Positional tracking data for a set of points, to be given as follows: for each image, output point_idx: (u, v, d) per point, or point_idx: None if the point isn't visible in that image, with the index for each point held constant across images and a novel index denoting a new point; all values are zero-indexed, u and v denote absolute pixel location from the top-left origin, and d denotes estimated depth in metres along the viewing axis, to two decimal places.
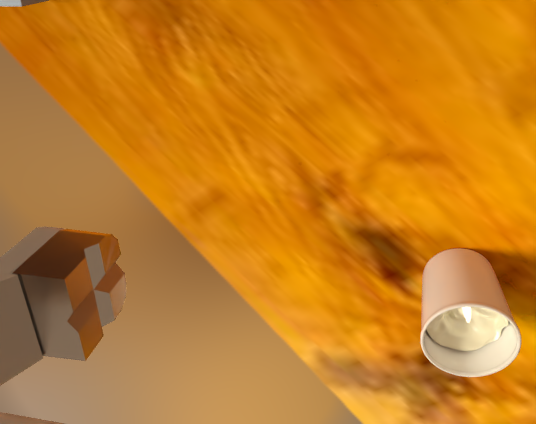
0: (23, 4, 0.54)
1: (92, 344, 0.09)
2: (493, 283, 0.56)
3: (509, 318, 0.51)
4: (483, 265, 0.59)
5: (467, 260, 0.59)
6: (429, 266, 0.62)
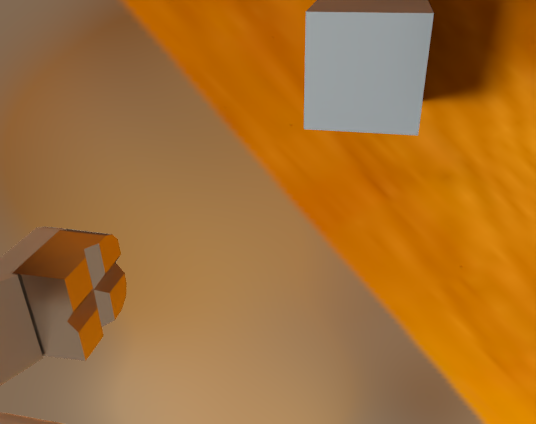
0: None
1: (92, 343, 0.09)
2: None
3: None
4: None
5: None
6: None
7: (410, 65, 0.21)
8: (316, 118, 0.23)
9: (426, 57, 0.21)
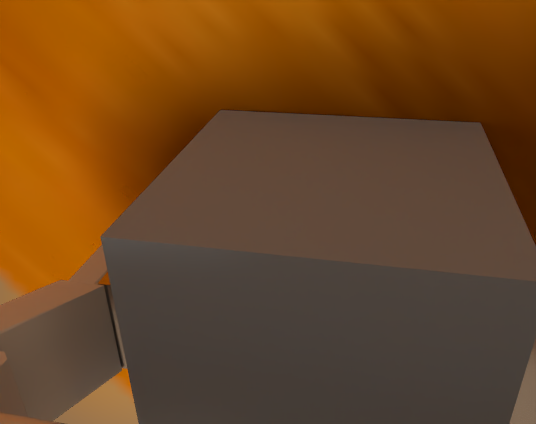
0: None
1: None
2: None
3: None
4: None
5: None
6: None
7: (455, 410, 0.06)
8: None
9: (510, 397, 0.06)
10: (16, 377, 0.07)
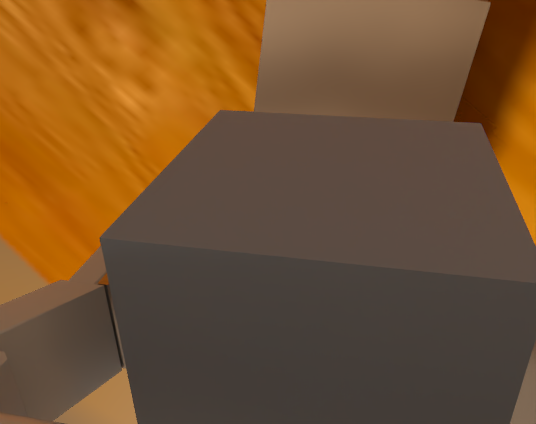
0: None
1: None
2: None
3: None
4: None
5: None
6: None
7: (455, 412, 0.06)
8: None
9: (510, 399, 0.06)
10: (16, 377, 0.07)
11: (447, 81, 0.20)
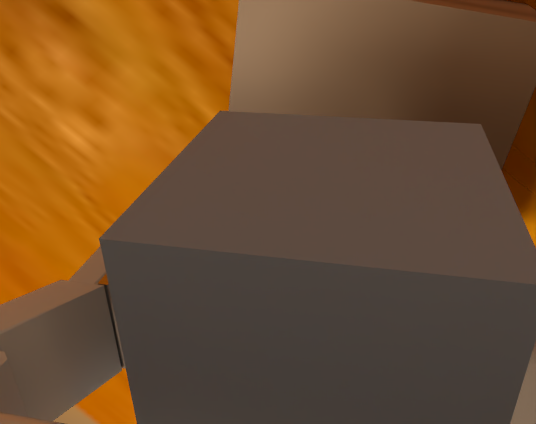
0: None
1: None
2: None
3: None
4: None
5: None
6: None
7: (455, 413, 0.06)
8: None
9: (510, 400, 0.06)
10: (16, 377, 0.07)
11: (489, 133, 0.14)
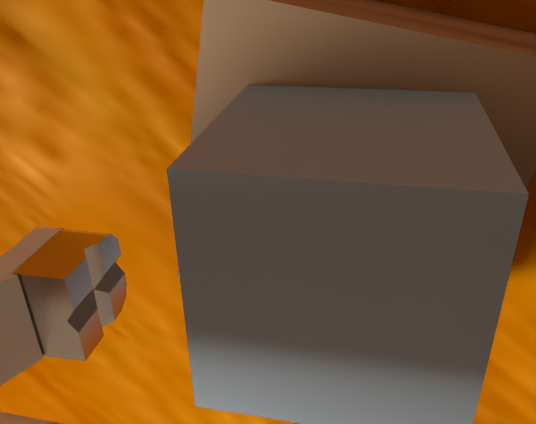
0: None
1: (92, 344, 0.09)
2: None
3: None
4: None
5: None
6: None
7: (454, 311, 0.08)
8: (221, 391, 0.10)
9: (498, 297, 0.08)
10: None
11: None
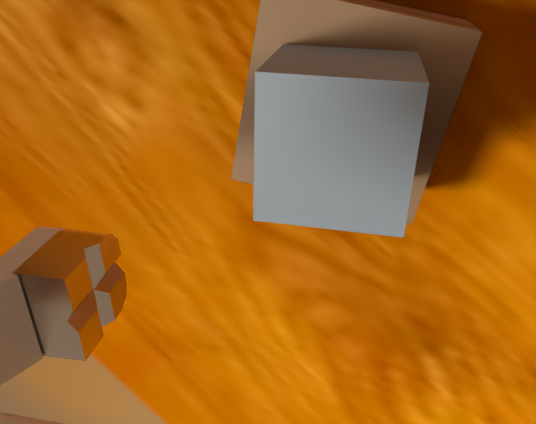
0: None
1: (92, 344, 0.09)
2: None
3: None
4: None
5: None
6: None
7: (396, 149, 0.15)
8: (269, 208, 0.17)
9: (417, 139, 0.15)
10: None
11: (435, 108, 0.20)
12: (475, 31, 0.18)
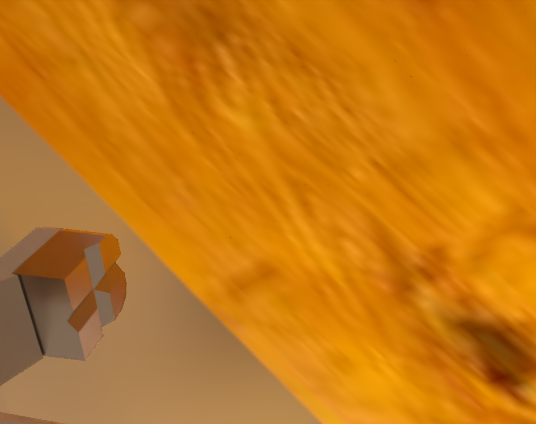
0: None
1: (92, 343, 0.09)
2: None
3: None
4: None
5: None
6: None
7: None
8: None
9: None
10: None
11: None
12: None
